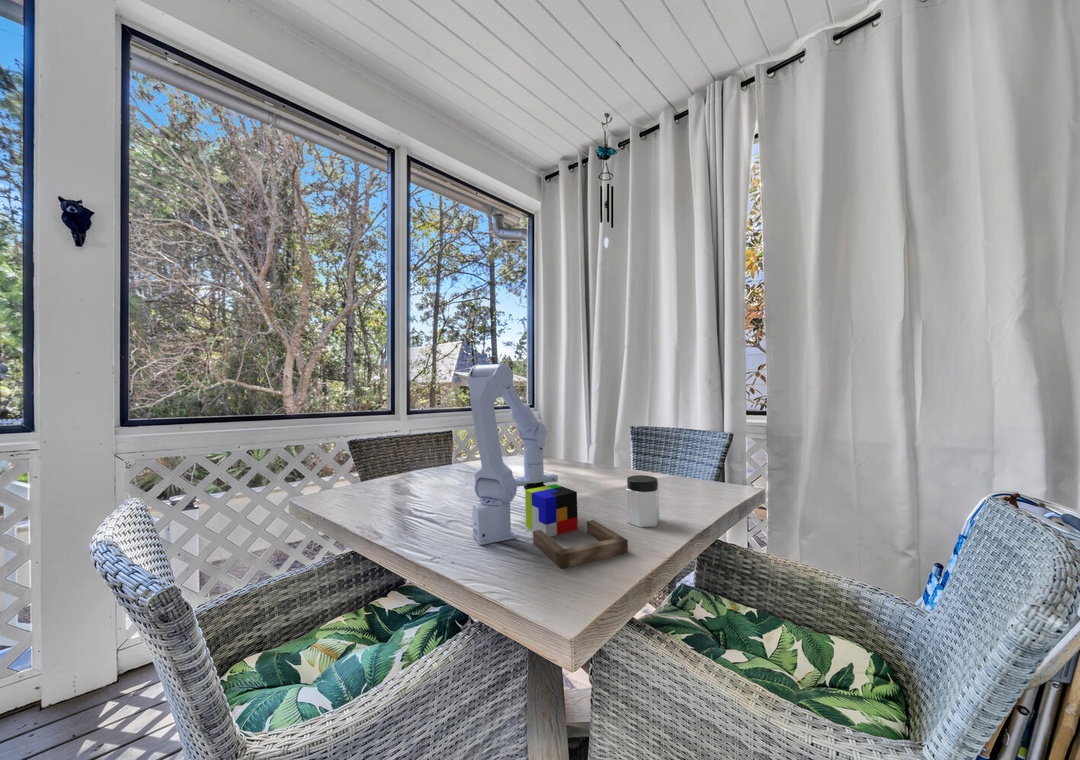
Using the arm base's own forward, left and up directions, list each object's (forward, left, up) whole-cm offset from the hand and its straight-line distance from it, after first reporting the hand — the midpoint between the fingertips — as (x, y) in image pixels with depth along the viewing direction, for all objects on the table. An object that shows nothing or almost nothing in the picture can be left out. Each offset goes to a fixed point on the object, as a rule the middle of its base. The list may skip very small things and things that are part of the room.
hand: (534, 508), depth 121 cm
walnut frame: (0, -25, -2) cm, 25 cm away
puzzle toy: (0, -11, -2) cm, 12 cm away
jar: (+24, -19, -2) cm, 31 cm away
